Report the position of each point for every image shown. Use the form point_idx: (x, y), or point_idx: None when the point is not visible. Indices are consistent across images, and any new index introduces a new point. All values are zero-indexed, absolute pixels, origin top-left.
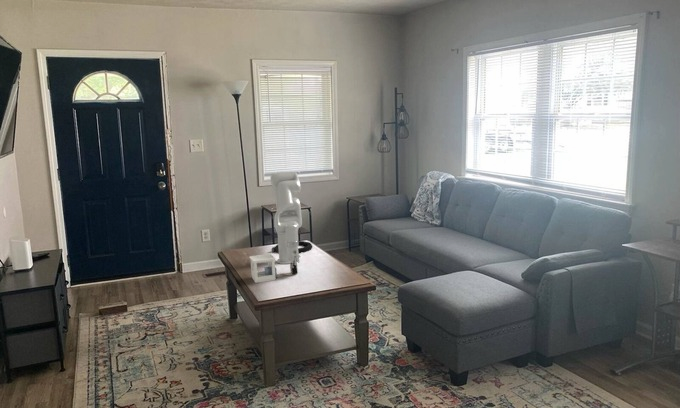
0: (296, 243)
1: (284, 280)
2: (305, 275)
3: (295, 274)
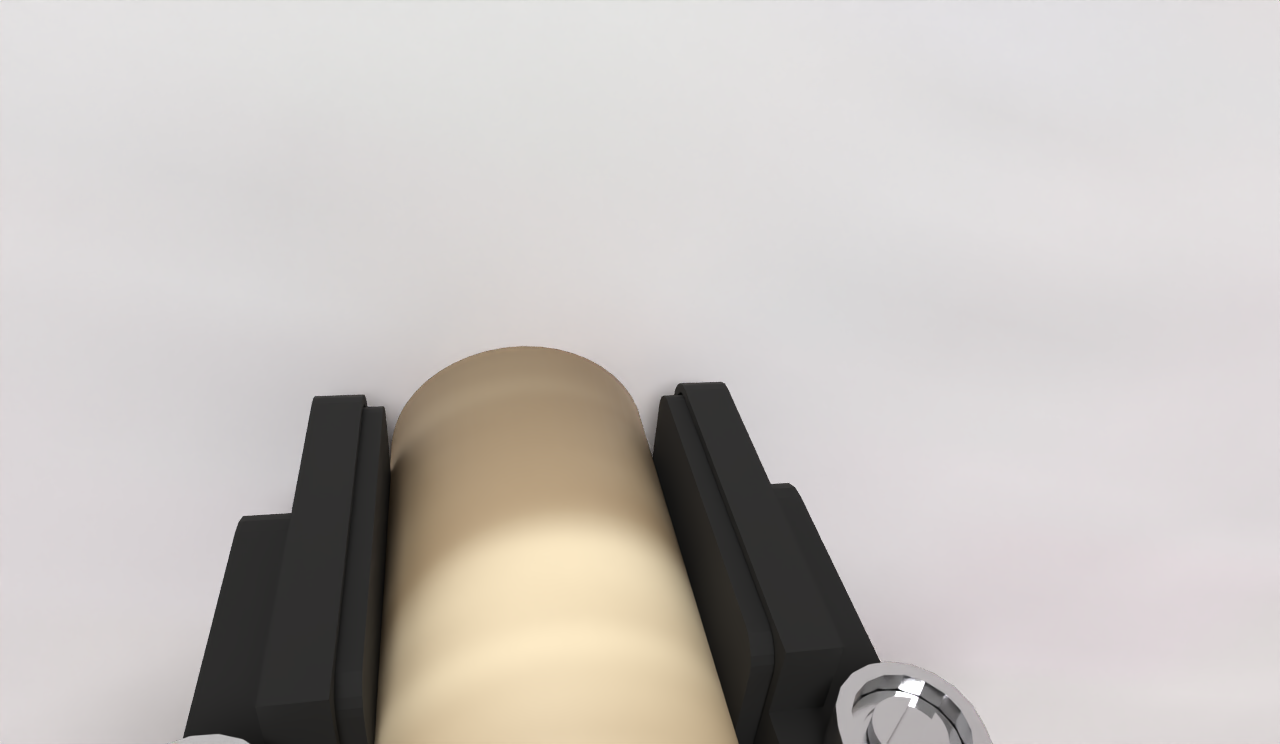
0: None
1: None
2: (1086, 19)
3: (639, 420)
